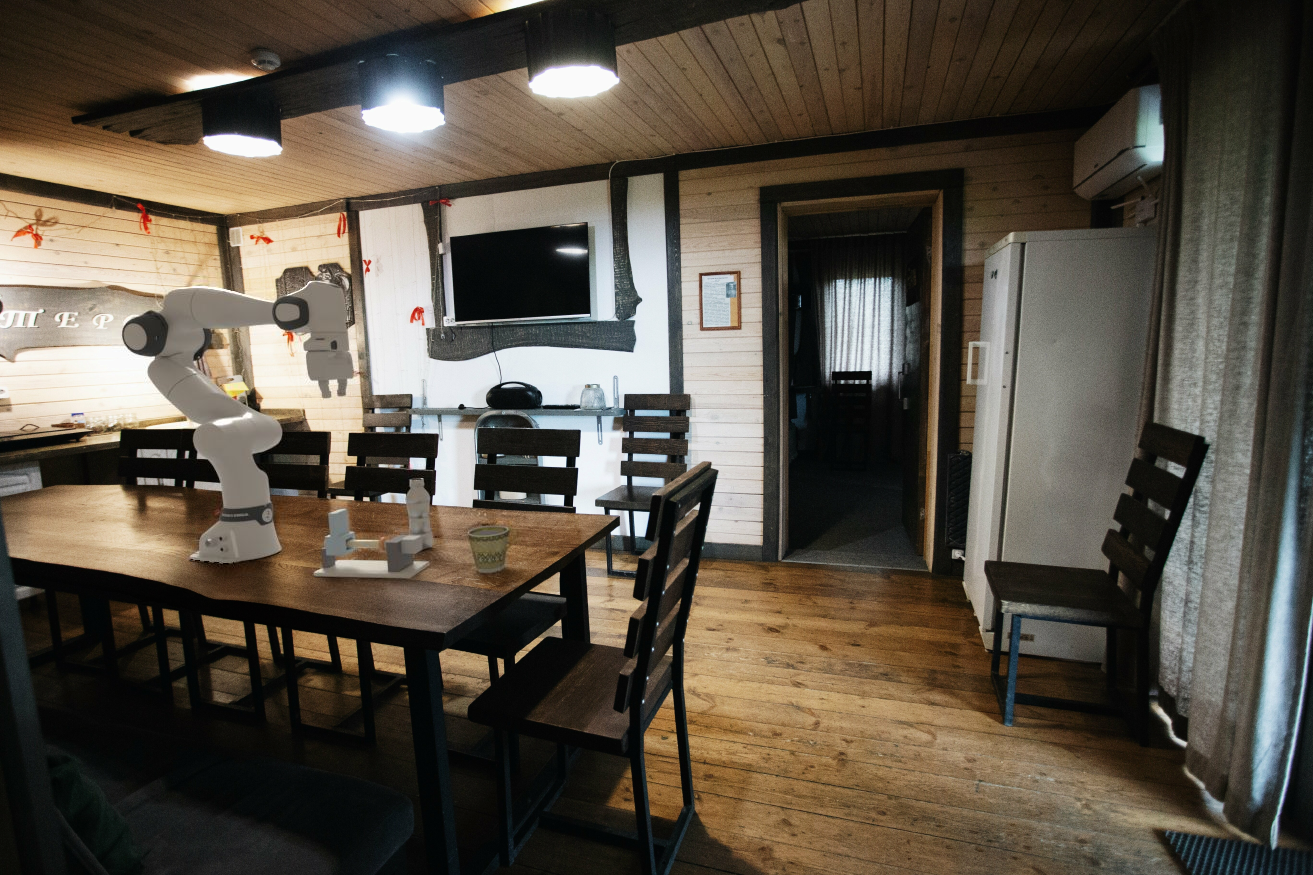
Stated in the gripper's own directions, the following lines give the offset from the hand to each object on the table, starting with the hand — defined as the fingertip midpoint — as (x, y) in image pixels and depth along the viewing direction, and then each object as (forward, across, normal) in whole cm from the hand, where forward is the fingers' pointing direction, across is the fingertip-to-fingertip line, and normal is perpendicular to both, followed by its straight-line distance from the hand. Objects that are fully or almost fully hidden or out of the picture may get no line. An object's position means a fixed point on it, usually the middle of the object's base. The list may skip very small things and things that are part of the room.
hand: (334, 397), depth 169 cm
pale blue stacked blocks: (+39, +11, +3) cm, 41 cm away
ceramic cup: (+44, +15, +42) cm, 63 cm away
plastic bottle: (+44, -6, +18) cm, 48 cm away
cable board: (+44, +12, +11) cm, 47 cm away
